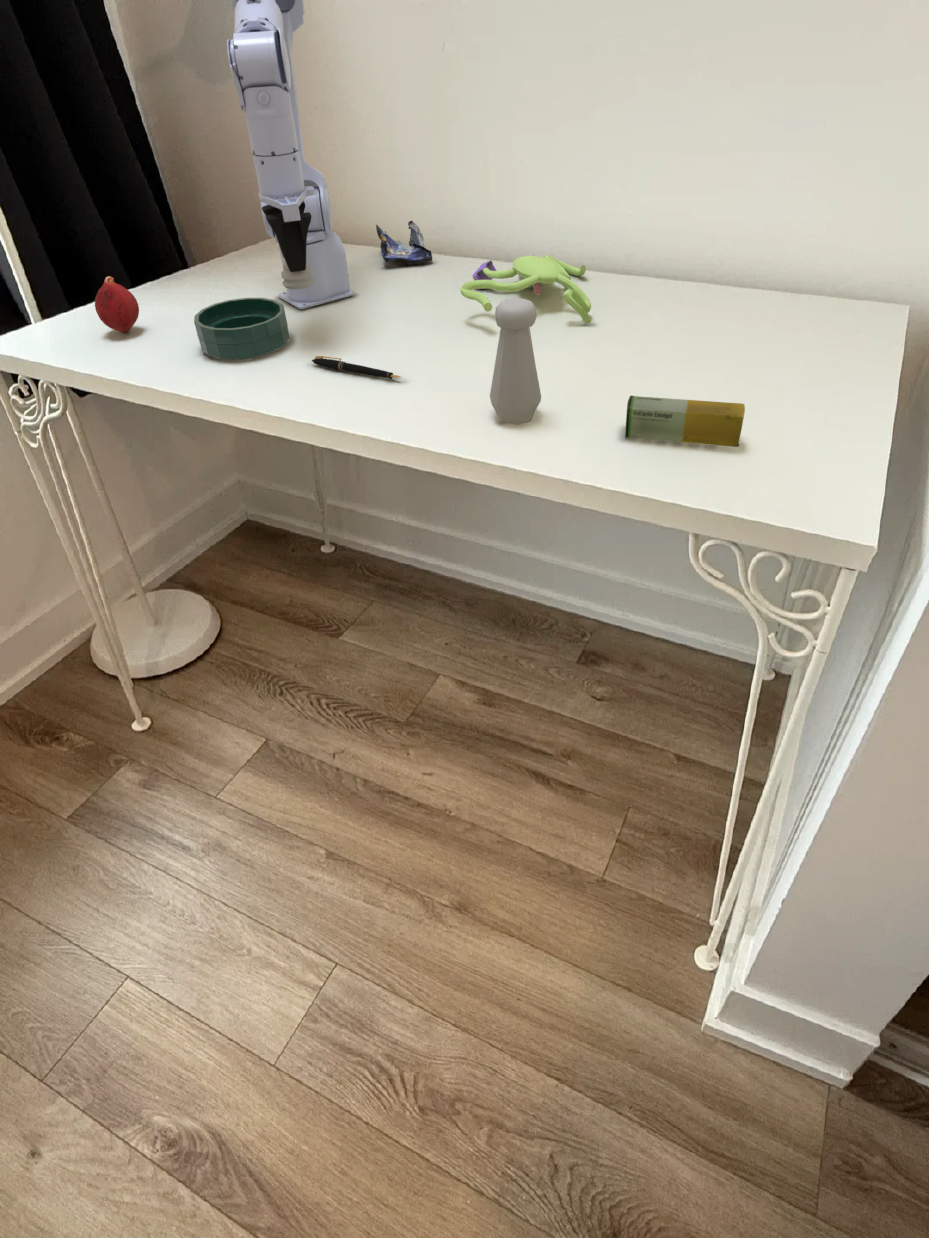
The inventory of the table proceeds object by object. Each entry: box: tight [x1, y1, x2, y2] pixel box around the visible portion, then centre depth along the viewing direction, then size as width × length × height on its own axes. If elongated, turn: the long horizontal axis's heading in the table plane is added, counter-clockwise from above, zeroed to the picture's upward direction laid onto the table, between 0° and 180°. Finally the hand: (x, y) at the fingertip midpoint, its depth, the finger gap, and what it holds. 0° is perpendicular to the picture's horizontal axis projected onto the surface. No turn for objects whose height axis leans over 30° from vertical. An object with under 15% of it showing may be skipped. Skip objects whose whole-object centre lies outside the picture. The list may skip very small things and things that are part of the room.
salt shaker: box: [489, 297, 542, 426], centre depth 86 cm, size 6×6×13 cm
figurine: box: [459, 254, 592, 325], centre depth 117 cm, size 18×27×6 cm
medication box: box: [624, 395, 746, 448], centre depth 83 cm, size 12×3×4 cm, turn 73°
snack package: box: [375, 220, 433, 268], centre depth 136 cm, size 12×6×12 cm
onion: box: [94, 275, 140, 334], centre depth 114 cm, size 6×6×8 cm
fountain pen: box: [311, 355, 401, 380], centre depth 101 cm, size 14×1×2 cm, turn 62°
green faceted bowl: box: [193, 297, 291, 360], centre depth 109 cm, size 12×12×4 cm
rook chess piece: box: [280, 258, 315, 289], centre depth 105 cm, size 4×4×8 cm
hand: (295, 266), depth 106 cm, fingers closed on rook chess piece, 3 cm apart
